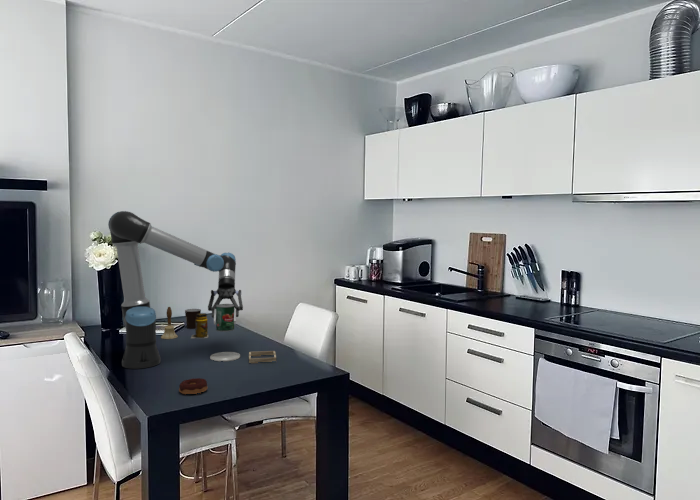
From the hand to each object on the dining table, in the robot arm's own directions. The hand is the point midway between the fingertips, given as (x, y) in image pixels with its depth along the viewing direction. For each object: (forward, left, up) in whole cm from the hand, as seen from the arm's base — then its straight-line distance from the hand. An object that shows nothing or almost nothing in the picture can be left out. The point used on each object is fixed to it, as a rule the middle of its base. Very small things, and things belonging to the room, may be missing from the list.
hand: (224, 322), depth 219 cm
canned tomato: (+3, +1, -4) cm, 5 cm away
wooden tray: (+5, -16, -16) cm, 23 cm away
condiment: (+34, +32, -17) cm, 50 cm away
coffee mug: (+53, +47, -17) cm, 73 cm away
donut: (-39, -8, -17) cm, 43 cm away
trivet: (+3, +1, -16) cm, 17 cm away
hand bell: (+28, +46, -17) cm, 57 cm away
